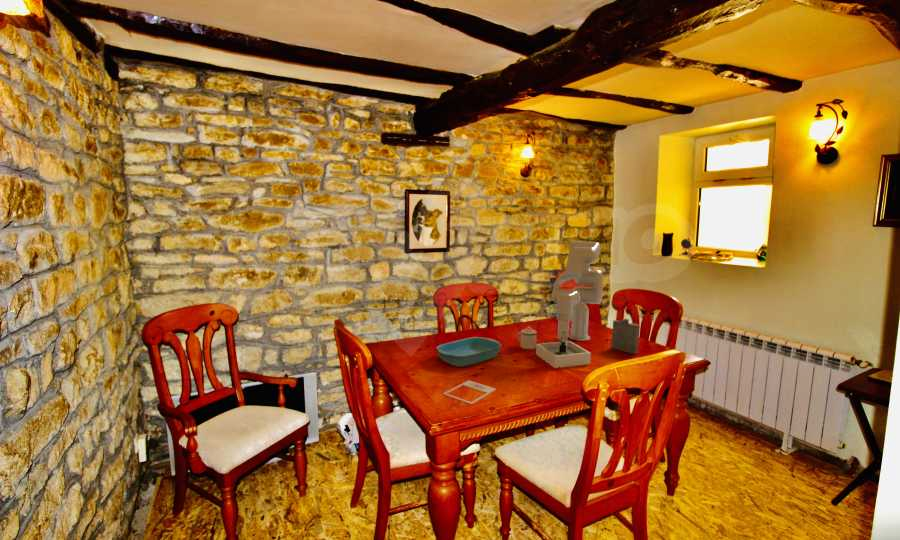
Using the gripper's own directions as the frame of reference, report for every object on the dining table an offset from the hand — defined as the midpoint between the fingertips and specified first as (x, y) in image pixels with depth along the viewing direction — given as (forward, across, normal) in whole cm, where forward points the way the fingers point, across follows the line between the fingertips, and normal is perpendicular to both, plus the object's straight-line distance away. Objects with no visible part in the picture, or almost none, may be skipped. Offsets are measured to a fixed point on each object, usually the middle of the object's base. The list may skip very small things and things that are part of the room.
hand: (562, 350), depth 224 cm
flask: (+5, -22, +33) cm, 40 cm away
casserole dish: (+5, +10, -48) cm, 49 cm away
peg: (+3, 0, 0) cm, 3 cm away
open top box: (+5, 0, 0) cm, 5 cm away
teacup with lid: (+5, -16, -20) cm, 26 cm away
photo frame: (+5, +51, -39) cm, 64 cm away
